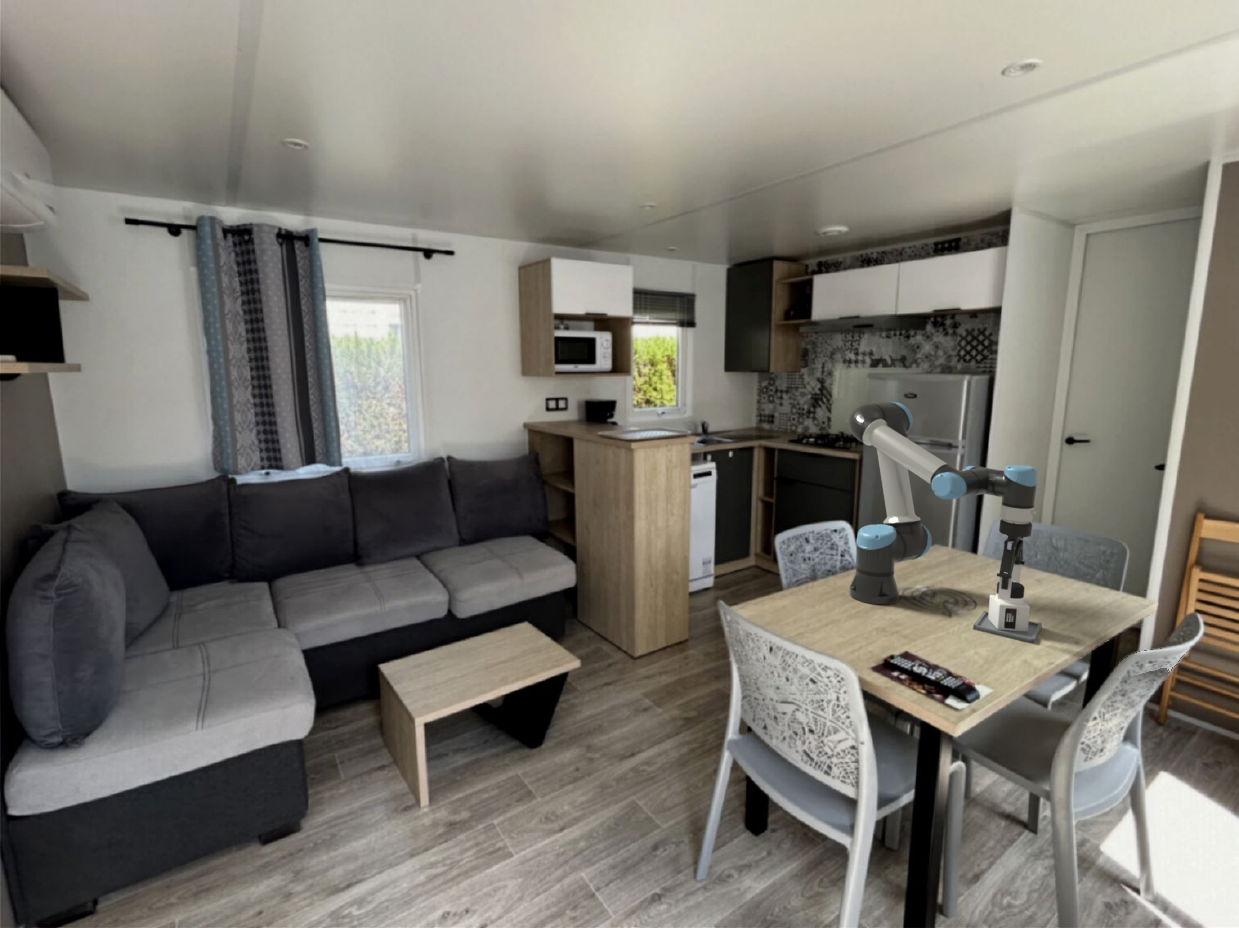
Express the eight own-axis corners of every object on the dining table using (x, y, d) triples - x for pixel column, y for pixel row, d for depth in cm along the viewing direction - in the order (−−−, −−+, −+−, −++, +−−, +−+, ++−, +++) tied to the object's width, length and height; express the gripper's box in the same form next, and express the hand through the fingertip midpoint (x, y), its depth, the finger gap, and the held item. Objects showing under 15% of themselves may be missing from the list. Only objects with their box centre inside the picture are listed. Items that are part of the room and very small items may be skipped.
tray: (973, 629, 169) (973, 625, 169) (983, 614, 178) (984, 610, 178) (1033, 644, 159) (1034, 639, 159) (1041, 627, 169) (1042, 623, 169)
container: (1028, 632, 165) (1032, 588, 163) (997, 630, 166) (1000, 586, 165) (1017, 621, 172) (1020, 578, 170) (987, 619, 174) (990, 577, 172)
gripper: (1024, 532, 152) (1016, 609, 156) (1039, 514, 170) (1032, 583, 174) (990, 527, 157) (983, 602, 161) (1009, 510, 175) (1002, 577, 179)
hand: (1008, 592), depth 167 cm, fingers open, 13 cm apart
